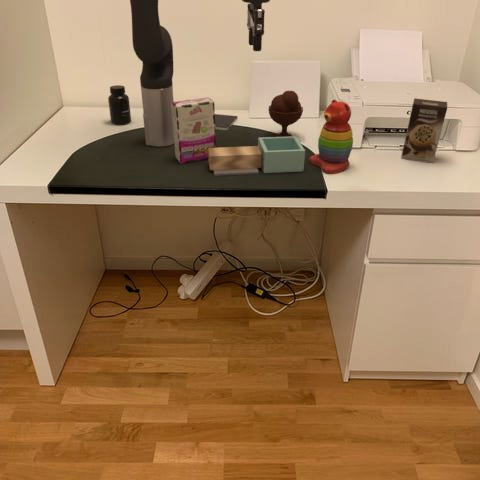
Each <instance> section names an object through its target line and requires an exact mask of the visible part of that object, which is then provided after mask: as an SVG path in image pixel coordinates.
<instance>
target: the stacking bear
mask: <svg viewBox="0 0 480 480" xmlns="http://www.w3.org/2000/svg"><path fill="white" fill-rule="evenodd" d="M323 116H324V117H323V118H324V121H325V123H323V126H322V127H321V130H320V134H319V136H318V144H317V147H318V153H317V154H313V155H311V156H310V158H309V159H308V162H309V163H310V164H311V165H314V166H316V167H317V166H318V167H319V168H320V169H321V172H323V173H324V174H329V175H333V174H338V173H342V172H344V171H345V170H347V169H349V167H350V161H349V158H350V156H351V153H352V149H353V145H354V137H353V129H352V127H351V124H350V123H349V121H350V120H351V116H352V109H351V107H350V105H349V104H348V103H346V102H345V101H338V100H336V99H332V101H331V103H330V104H329V105H328V106H327V107H326V108H325V110H324V113H323Z"/></svg>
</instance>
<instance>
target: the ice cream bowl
mask: <svg viewBox="0 0 480 480" xmlns="http://www.w3.org/2000/svg"><path fill="white" fill-rule="evenodd" d="M303 112H304V107H303V106H302V104H301V102H300V101H299V96H298V94H297V92H295V91H293V90H285V91H283V93H282V94H278V95H275V96H274V97H273V98H272V100H271V103H270V105H268V114H269V116H270V119H272V121H273V122H274V123H276V124H278V125H279V126H280V127H281V132H278V133H277V134H275V137H289V136H293V135H292V134H291V133H289V132H288V127H289V126H291V125H293V124H295V123H297V122H298V121H299V120H300V119H301V117H302V115H303Z"/></svg>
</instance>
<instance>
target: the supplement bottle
mask: <svg viewBox="0 0 480 480" xmlns="http://www.w3.org/2000/svg"><path fill="white" fill-rule="evenodd" d="M109 92H110V93H109V94H110V95H108V98H107V99H108V100H107V101H108V108H109V115H110V116H109V117H110V122H111V124H113V125H116V126H125V125H128V124H130V123H131V122H132V115H131V103H130V98H129V95H127V94H126V87H125V86H124V85H122V84H121V85H112V86H109Z"/></svg>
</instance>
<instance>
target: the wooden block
mask: <svg viewBox="0 0 480 480" xmlns="http://www.w3.org/2000/svg"><path fill="white" fill-rule="evenodd" d="M207 160H208V161H207V162H208V167H209V171H213V170H225V169H248V168H257V169H262V167H261V152H260V150H259V148H258V145H252V146H249V145H248V146H226V147H225V146H223V147H216V148H208V159H207Z"/></svg>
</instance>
